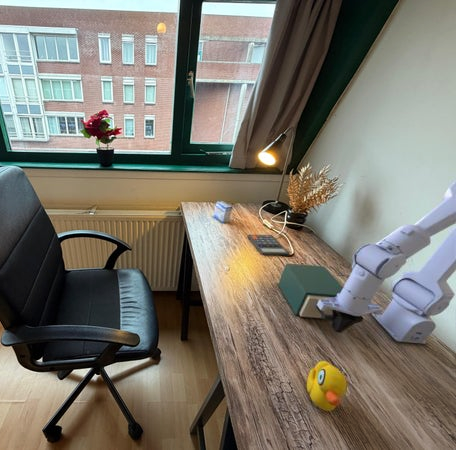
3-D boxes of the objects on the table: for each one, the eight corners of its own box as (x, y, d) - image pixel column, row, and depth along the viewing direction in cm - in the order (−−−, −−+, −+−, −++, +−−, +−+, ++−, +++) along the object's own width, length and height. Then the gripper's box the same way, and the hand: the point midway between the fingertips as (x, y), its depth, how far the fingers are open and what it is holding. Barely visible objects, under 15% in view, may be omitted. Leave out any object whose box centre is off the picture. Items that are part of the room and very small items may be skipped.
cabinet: (338, 318, 73) (351, 296, 69) (295, 315, 73) (306, 292, 69) (314, 287, 85) (324, 266, 81) (278, 284, 85) (286, 263, 81)
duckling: (335, 434, 47) (358, 406, 43) (304, 418, 49) (322, 390, 45) (330, 382, 56) (349, 354, 52) (304, 370, 58) (319, 342, 54)
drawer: (349, 332, 68) (361, 314, 64) (308, 329, 68) (317, 310, 65) (317, 289, 83) (325, 272, 79) (283, 287, 83) (290, 270, 80)
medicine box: (213, 216, 131) (216, 201, 127) (219, 215, 133) (223, 200, 129) (222, 223, 125) (226, 207, 121) (229, 221, 127) (233, 206, 123)
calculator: (272, 234, 115) (289, 253, 102) (271, 236, 115) (288, 254, 102) (248, 234, 114) (262, 252, 101) (247, 235, 114) (261, 254, 101)
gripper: (376, 282, 62) (353, 319, 69) (319, 277, 63) (301, 315, 69) (399, 302, 56) (371, 341, 63) (335, 297, 56) (314, 337, 63)
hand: (335, 329), depth 65 cm, fingers closed, pressing on drawer
